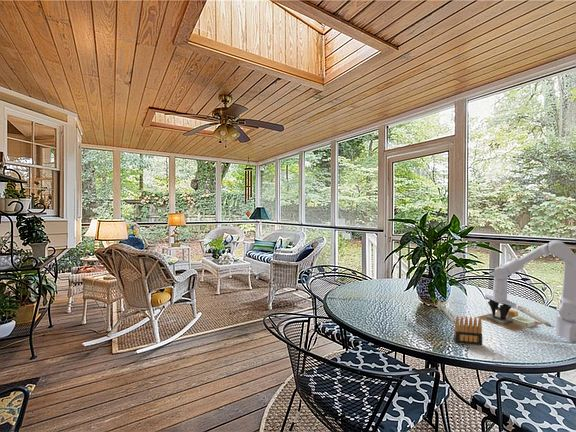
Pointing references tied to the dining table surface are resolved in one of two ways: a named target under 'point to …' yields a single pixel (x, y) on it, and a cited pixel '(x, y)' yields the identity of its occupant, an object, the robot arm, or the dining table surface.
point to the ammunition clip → (468, 331)
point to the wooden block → (512, 314)
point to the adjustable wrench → (532, 315)
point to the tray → (523, 321)
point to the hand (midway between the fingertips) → (499, 317)
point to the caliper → (441, 307)
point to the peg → (498, 313)
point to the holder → (505, 322)
